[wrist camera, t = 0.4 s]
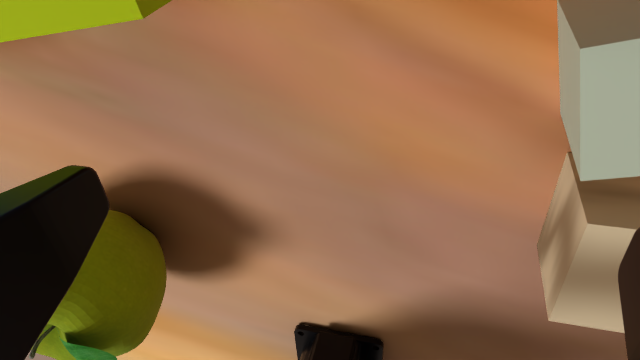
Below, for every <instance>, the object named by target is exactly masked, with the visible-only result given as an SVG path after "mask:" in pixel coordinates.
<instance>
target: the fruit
mask: <svg viewBox="0 0 640 360" xmlns="http://www.w3.org/2000/svg"><path fill="white" fill-rule="evenodd" d="M166 278H167V276H166V264H165V259H164V255H163V251H162V249H161V246H160V244H159V242H158V240H157V239H156V237H155V236H154V235H153V234H152V233H151V232H150V231H149V230H147V229H146V228H144V227H142V226H141V225H140V224H138V223H137V222H136V221H135V220H134V219H133V218H131V217H130V216H128V215H126V214H124V213H121V212H118V211H113V210H109V211H108V214H107V217H106V219H105V221H104V223H103V225H102V227H101V229H100V231H99V233H98V235H97V237H96V238H95V240H94V242H93V244H92V246H91V248H90V250H89V252H88V254H87V256H86V258H85V260H84V262H83V264H82V266H81V268H80V270H79V272H78V274H77V276H76V278H75V280H74V282H73V283H72V285H71V287H70V288H69V290H68V292H67V293H66V295H65V296H64V298H63V300H62V301H61V303H60V304H59V306H58V307H57V309H56V311H55V312H54V314H53V315H52V317H51V319H50V320H49V322H48V323H47V325H46V326H45V328H44V330H43V331H42V333H41V334H40V336H39V338H38V339H37V341H36V342H35V344H34V345H33V347H32V349H31V353H30V355H29V358H30V359H32V358H34V356H35V353H38V354H41V355H46V356H49V357H52V358H55V359H57V360H117V358H116V356H119V355H122V354H124V353H127V352H129V351H131V350H132V349H134V348H136V347H137V346H138V345H139V344H140V343H142V342H143V340H144V339H145V338H146V336H147V335H148V333H149V331H150V330H151V328H152V326H153V324H154V322H155V319H156V317H157V314H158V312H159V309H160V306H161V303H162V300H163V297H164V293H165V288H166Z"/></svg>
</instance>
